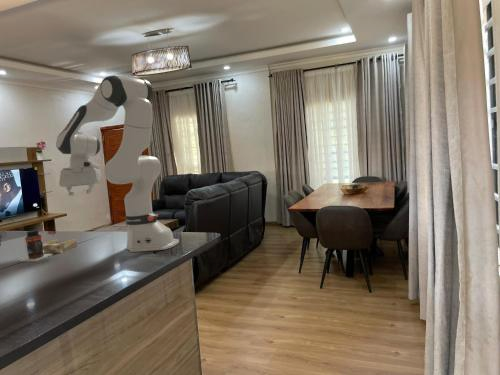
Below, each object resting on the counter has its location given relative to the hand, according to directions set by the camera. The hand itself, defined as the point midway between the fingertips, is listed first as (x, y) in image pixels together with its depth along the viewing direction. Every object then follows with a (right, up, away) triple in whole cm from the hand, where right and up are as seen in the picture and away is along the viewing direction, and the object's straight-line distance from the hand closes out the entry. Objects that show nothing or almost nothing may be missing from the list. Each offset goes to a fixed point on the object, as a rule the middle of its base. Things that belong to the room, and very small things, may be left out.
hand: (80, 194), depth 183 cm
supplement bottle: (-10, -26, -19) cm, 34 cm away
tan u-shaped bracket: (-7, -25, -7) cm, 27 cm away
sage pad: (-10, -27, -19) cm, 34 cm away
